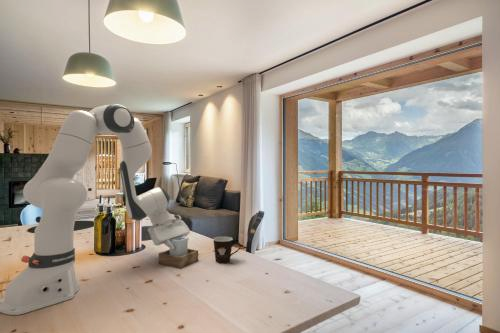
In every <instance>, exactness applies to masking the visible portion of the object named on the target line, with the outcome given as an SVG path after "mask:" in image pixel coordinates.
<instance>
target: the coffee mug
mask: <svg viewBox="0 0 500 333" xmlns="http://www.w3.org/2000/svg"><path fill="white" fill-rule="evenodd" d="M235 244H237V245H239V247H238V248H237V250H235V251H233V252H232V248H233V246H234V245H235ZM213 247H214V256H215V257H214V258H215V262H216V264H217V263H218V264H222V263H223V264H228V263H230V262H231V257H232V256H233V255H234V254H236V253H238V252H239V251H240V250H241V247H242V244H241V243H240V242H238V241H234V242H233V238H232V236H231V237H230V236H216V237H214V238H213Z"/></svg>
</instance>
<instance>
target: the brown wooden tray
mask: <svg viewBox="0 0 500 333" xmlns="http://www.w3.org/2000/svg"><path fill="white" fill-rule="evenodd" d="M198 261H199V249H198V250H197V249H191V248H188V254H186V255H184V256H181V257H177V256H173V255H170V249H167V250H164V251H162V252H159V253H158V264H159V265H163V266H167V267H172V268H176V269H183V268H184V267H186V266H189V265H191V264H193V263H195V262H198Z"/></svg>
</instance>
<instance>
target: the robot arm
mask: <svg viewBox="0 0 500 333" xmlns="http://www.w3.org/2000/svg"><path fill="white" fill-rule="evenodd" d="M97 135H98V136H99V135H100V136H101V135H115V136H116V137H117V138H118V140H119V142H120V146H121V148H122V151H123V157H122V161H121V162H120V163H119V172H120V179H121V184H122V189H123V194H124V202H125V203H124V204H125V211H126V214H127V216H128V218H130V219H131V220H133V221H139V222H140V221H142V220H144V219H145V218H148V219H149V220H150V223H151V225H149V226H148V227H147V232H148V234H149V237H150V239H151V241H152V243H153V244H154V245H155V246H160V245H163V244H164V245H165V246H166V247H168V248H169V250H170V249H171V250H175V249H176V246H175V245H173V244H171V243H170V239H173V238H177V237H184V238H187V236H189V234H190V228H189V226H188V225H187V224H186V223H185V222H184V220H182V217H181V216H180V215H179V214H173V213H170V212H169V211H168V210H167V207H168V206H169V203H170V200H171V198H170V195H169V193H168V192H167V190H166V189H164V188H163V187H159V186H157V187H154V188H152V189H150V190H147V191H146V192H143V193H141V194H139V195H137V192H136V187H135V186H136V185H135V182H134V181H135V180H134V179H135V176H136V174H137V172H138V171H139V170H140V169H141V168H142V167H143V166H144V165H146V164H147V162H148V161H149V160H150V159H151V156H152V155H153V154H152V153H153V150H152V145H151V142H150V139H149V137H148V134H147V132H146V130H145V127H144V126H143V123H142V122H141V121H140V119H138V118H137V117H135V116H134V115H133V114H132V112H131V111H130V109H129V108H127V107H126V106H125V105H123V104H118V103H112V104H104V105H100V106H96V107H93V108H92V107H91V109H89V110H87V111H86V110H82V109H81V110H80V109H77V110H72V111H70V113H69V114H68V115H67V116H66V118H65V119H64V121H63V123H62V125H61V126H60V128H59V131H58V133H57V135H56V138H55V140H54V142H53V145H52V147H51V150H50V152H49V154H48V155H47V158H46V159H45V160H44V162H43V163H42V164H41V166H40V167H39V169H38V171H37V172H35V174H34V176H33V177H32V178H31V179H30V180H28V181H27V182H26V183H25V184H24V187H23V190H22V194H23V198H24V199H25V201H27V202H28V203H29V204H30V205H32V206H34V207H35V208H38V209H39V208H40V209H42V211H41V212H42V213H41V216H40V220H39V223H38V224H37V225H36V226H35V229H34V230H33V231H34V237H33V238H34V239H33V240H34V243H33V245H34V246H33V247H34V248H33V249H34V252H33V253H32V255H31V256H29V255H23V256H22V257H21V258H20V261H21V262H23V263H25V264H27V263H28V264H27V267H25V268H24V269H23V270H22V271H21V272H20V273H19V274H17V275H16V276H15V277H14V278H13V279H12V280H11V281H9V283H7V286H6V287H5V291H4V298H1V299H0V313H2V314H5V315H8V316H11V315H12V316H19V315H23V314H26V313H29V312H33V311H36V310H39V309H43V308H45V307H49V306H53V305H55V304H59V303H62V302H65V301H69V300H71V299H74V297H75V294H76V293H77V292H78V290H79V289H80V287H79V285H78V281H77V276H76V271H75V270H76V269H75V261H76V251H75V250H76V248H75V247H74V238H75V236H74V233H75V232H74V230H75V229H74V228H75V223H76V219H77V216H78V213H79V210H80V209H81V207H82V206H83V205H84V204H85V202H86V200H87V198H88V197H87V196H88V192H87V188H86V186H85V185H84V184H83V183H81V182H80V181H78V180H76V179H74V177H75V176H76V174H77V173H78V172H79V171H80V170H82V169H83V168H84V167H85V164H86V162H87V160H88V157H89V155H90V152H91V149H92V146H93V142H94V140H95V138H96V136H97Z"/></svg>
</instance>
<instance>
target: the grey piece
mask: <svg viewBox="0 0 500 333" xmlns="http://www.w3.org/2000/svg"><path fill="white" fill-rule="evenodd" d="M188 240H189V239H188V237H185V238H184V237H177V238H173V239H170V243H171V244H173V245H175V246H176V249H175V250H171V249H170V248H169V250H170V255H173V256H177V257H181V256H184V255H186V254H188V249H189V247H188V243H189V241H188Z"/></svg>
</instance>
